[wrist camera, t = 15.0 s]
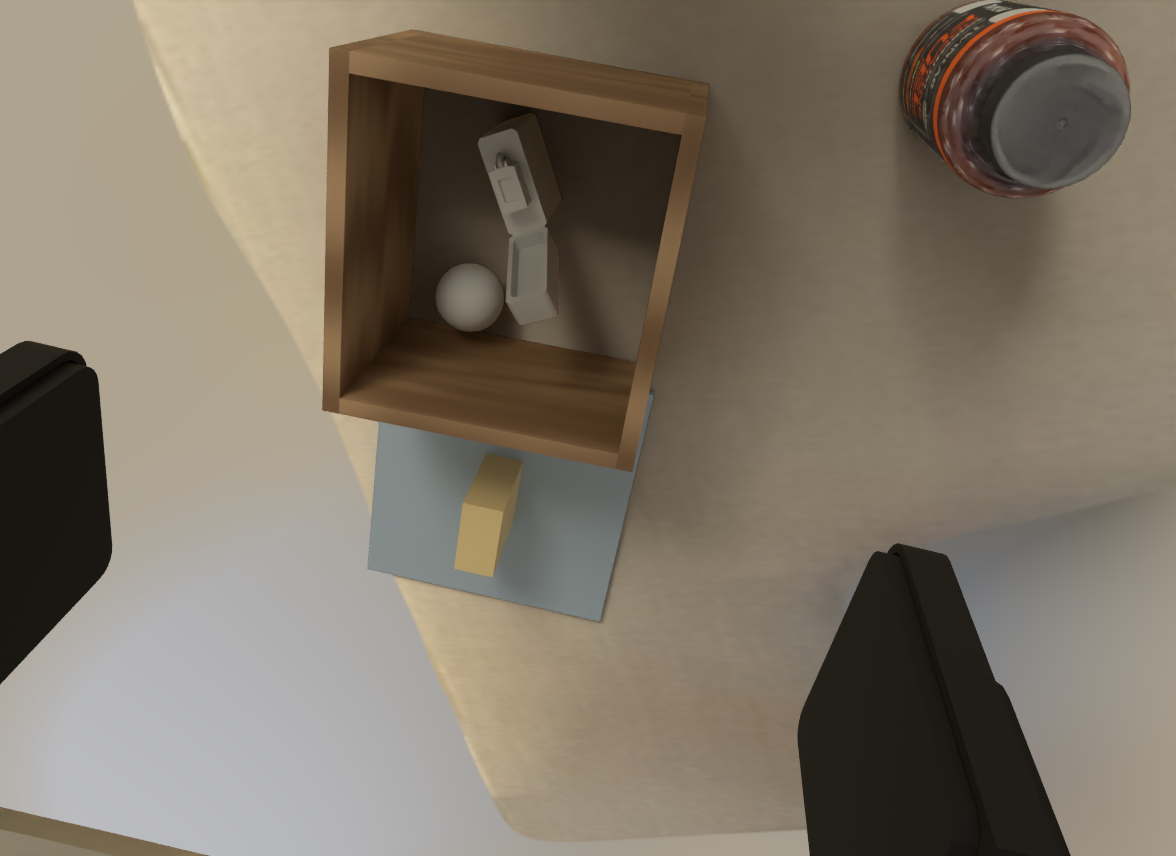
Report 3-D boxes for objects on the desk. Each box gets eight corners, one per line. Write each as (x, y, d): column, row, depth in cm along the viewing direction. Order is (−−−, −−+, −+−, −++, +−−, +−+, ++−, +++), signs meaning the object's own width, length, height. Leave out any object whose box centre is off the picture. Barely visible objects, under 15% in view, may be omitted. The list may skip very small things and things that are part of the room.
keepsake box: (412, 29, 39) (329, 47, 31) (708, 83, 39) (706, 117, 30) (394, 328, 46) (322, 410, 37) (647, 377, 45) (632, 472, 37)
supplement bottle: (926, -17, 36) (1006, -8, 26) (1073, 16, 36) (1212, 37, 26) (874, 136, 39) (930, 197, 29) (1011, 167, 39) (1114, 238, 29)
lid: (392, 329, 46) (350, 376, 41) (655, 387, 46) (646, 442, 41) (373, 558, 53) (335, 624, 48) (601, 610, 53) (588, 682, 48)
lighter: (498, 123, 40) (452, 157, 33) (534, 111, 40) (495, 143, 33) (547, 271, 43) (515, 331, 36) (582, 262, 43) (555, 321, 36)
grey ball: (448, 249, 43) (429, 269, 41) (513, 261, 43) (499, 282, 40) (443, 311, 45) (425, 334, 42) (506, 323, 45) (492, 347, 42)
